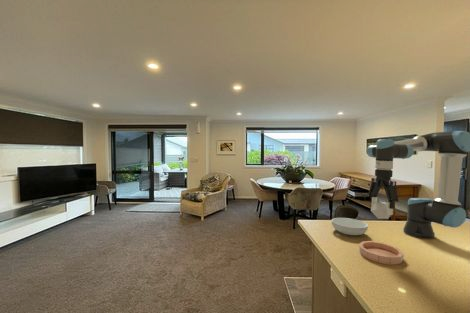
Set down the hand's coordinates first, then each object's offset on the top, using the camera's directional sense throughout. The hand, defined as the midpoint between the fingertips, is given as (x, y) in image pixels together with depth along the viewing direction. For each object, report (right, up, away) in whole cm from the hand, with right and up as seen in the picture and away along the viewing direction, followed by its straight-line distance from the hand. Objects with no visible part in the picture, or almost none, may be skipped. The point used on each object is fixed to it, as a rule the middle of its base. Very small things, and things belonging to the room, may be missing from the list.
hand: (381, 211), depth 113 cm
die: (0, -3, 0) cm, 3 cm away
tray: (-4, -21, -4) cm, 22 cm away
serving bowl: (-3, -20, +26) cm, 33 cm away
